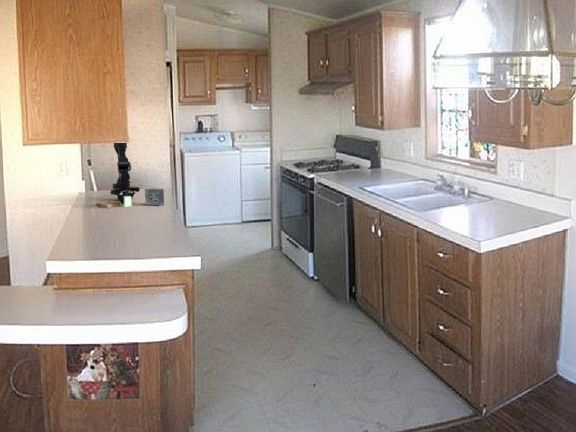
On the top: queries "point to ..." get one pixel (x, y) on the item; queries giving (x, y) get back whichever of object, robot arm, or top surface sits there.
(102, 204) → the base board
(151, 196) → the small box
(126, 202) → the block
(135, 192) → the robot arm
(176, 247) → the top surface
